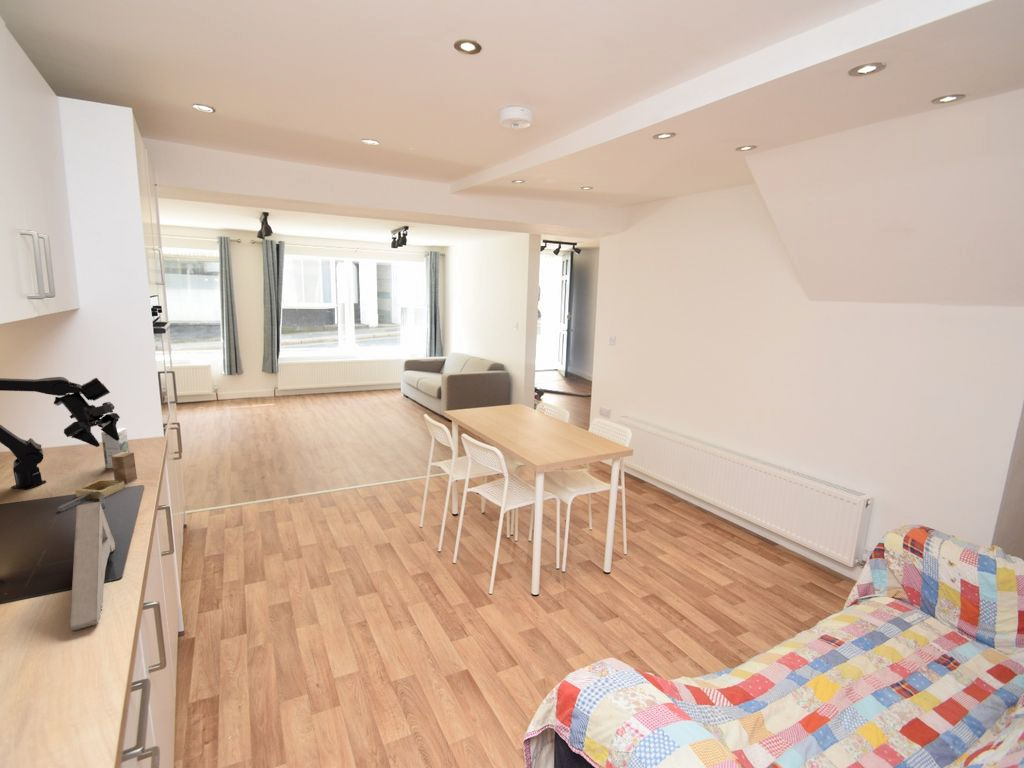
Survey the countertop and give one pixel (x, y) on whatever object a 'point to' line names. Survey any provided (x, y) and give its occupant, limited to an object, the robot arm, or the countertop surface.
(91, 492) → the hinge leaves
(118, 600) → the countertop surface
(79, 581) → the wall bracket
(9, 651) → the countertop surface
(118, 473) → the brown wooden block
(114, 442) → the syrup box
